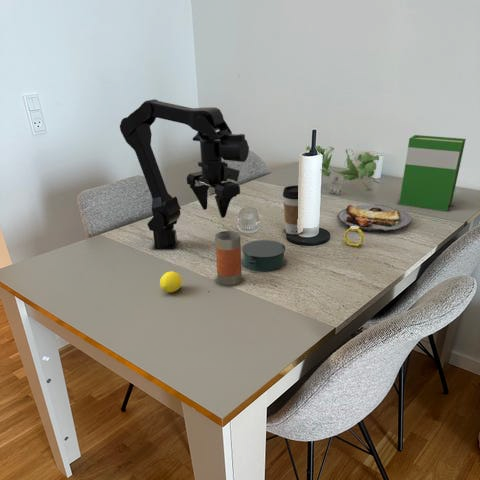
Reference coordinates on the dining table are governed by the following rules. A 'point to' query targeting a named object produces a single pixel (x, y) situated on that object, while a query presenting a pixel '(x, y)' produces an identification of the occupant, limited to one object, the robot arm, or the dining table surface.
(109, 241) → the dining table surface
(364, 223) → the food plate
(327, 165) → the plant cuttings
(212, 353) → the dining table surface
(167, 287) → the lemon
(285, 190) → the coffee cup
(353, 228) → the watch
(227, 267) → the can
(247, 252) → the pot
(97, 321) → the dining table surface
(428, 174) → the hardback book
